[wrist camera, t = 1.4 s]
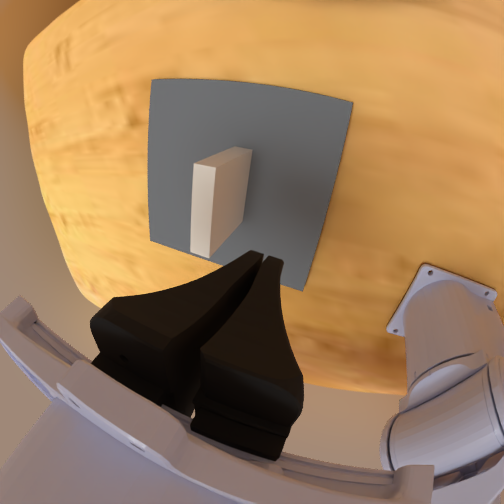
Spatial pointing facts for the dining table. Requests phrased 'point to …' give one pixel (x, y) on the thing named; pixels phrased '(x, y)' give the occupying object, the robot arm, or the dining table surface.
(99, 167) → the dining table surface
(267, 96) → the mat
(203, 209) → the tile
